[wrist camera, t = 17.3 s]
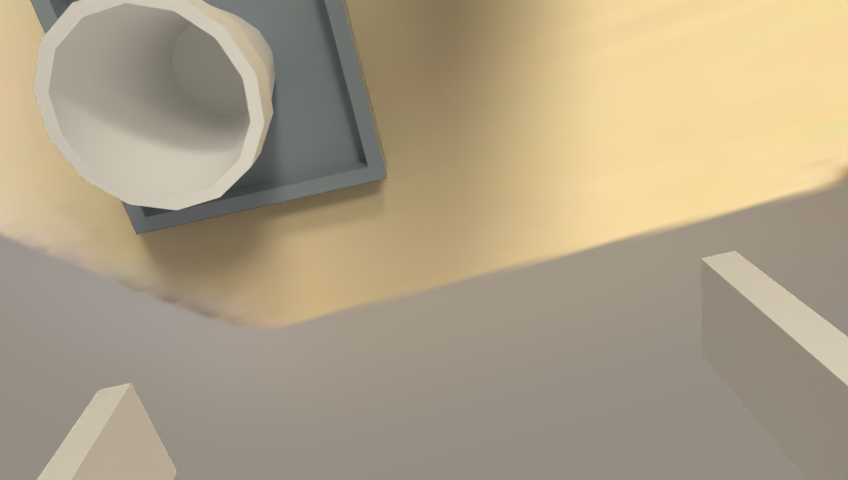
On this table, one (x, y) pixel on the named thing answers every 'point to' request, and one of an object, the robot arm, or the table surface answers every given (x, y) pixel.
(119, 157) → the foam cup
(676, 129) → the table surface
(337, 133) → the slate tray
